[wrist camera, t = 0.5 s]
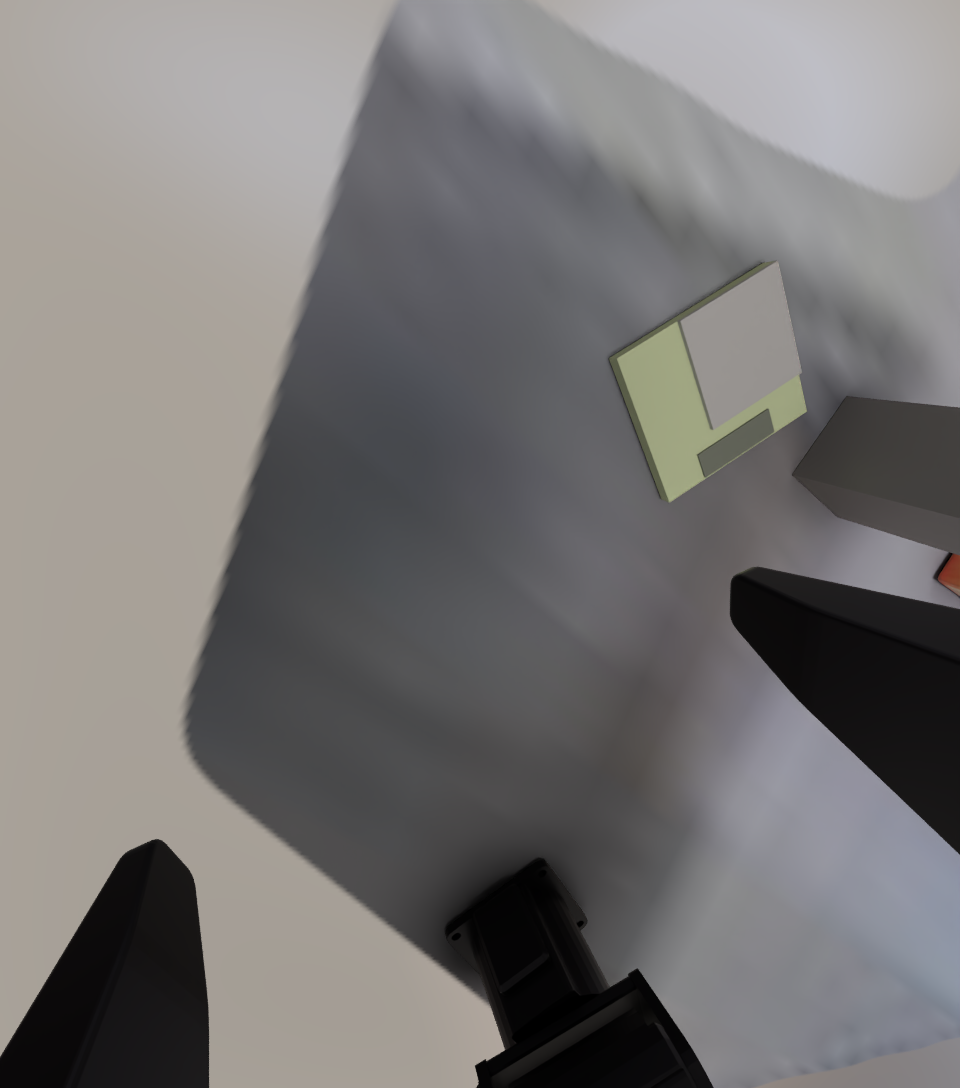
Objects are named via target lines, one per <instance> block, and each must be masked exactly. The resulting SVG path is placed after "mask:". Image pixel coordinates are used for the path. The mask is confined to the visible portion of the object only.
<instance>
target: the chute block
mask: <svg viewBox="0 0 960 1088" xmlns="http://www.w3.org/2000/svg"><path fill="white" fill-rule="evenodd" d="M792 475H793V476H794V477H795V478H796V479H797V480H798V481H799V482H800V483H802V484H803V485H804V486H805V487H806V488H807V489H808V490H809V491H810V492H811V493H812V494H813V495H814V496H816V497H817V498H818V499H819V500H820V501H821V502H822V503H823V504H824V505H825V506H826V507H827V508H828V509H830V510H831V511H832V512H833V513H834V514H835V515H836V516H837V517H839V518H842V519H845V520H848V521H852V522H855V523H858V524H861V525H864V526H868V527H871V528H874V529H877V530H880V531H884V532H887V533H890V534H893V535H896V536H899V537H903V538H906V539H909V540H912V541H915V542H919V543H922V544H925V545H928V546H931V547H934V548H938V549H941V550H944V551H947V552H950V553H954V554H957V555H960V408H958V407H948V406H938V405H928V404H918V403H908V402H898V401H888V400H878V399H868V398H858V397H848V396H847V397H846V398H845V400H844V401H843V403H842V404H841V405H840V407H839V408H838V410H837V411H836V413H835V414H834V415H833V417H832V418H831V420H830V421H829V423H828V424H827V425H826V427H825V428H824V430H823V431H822V433H821V434H820V435H819V437H818V438H817V440H816V441H815V443H814V444H813V446H812V447H811V448H810V450H809V451H808V453H807V454H806V456H805V457H804V458H803V460H802V461H801V463H800V464H799V466H798V467H797V468H796V470H795V471H794V473H793V474H792Z"/></svg>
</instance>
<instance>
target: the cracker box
mask: <svg viewBox="0 0 960 1088" xmlns="http://www.w3.org/2000/svg"><path fill="white" fill-rule="evenodd" d="M938 580H939V582H941V583H942V584H943V585H945V586H946V587H947V588H949V589H950V590H952V591H953V592H955V593H956V594H957V595H959V596H960V555H957V554H954V553H953V555H952V556H951V558H950V559H949V561H948V562H947V564H946V565H945V567H944V568H943V570H942V571H941V573H940V574H939V577H938Z"/></svg>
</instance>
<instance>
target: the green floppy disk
mask: <svg viewBox="0 0 960 1088" xmlns="http://www.w3.org/2000/svg"><path fill="white" fill-rule="evenodd" d="M609 360H610V363H611V365H612V368H613V371H614V373H615V376H616V379H617V381H618V384H619V387H620V389H621V392H622V395H623V398H624V400H625V403H626V406H627V408H628V411H629V414H630V416H631V419H632V422H633V424H634V427H635V430H636V432H637V435H638V438H639V440H640V443H641V446H642V448H643V451H644V454H645V457H646V459H647V462H648V465H649V467H650V470H651V473H652V475H653V478H654V481H655V483H656V486H657V489H658V491H659V494H660V497H661V499H662V500H665V501H667V502H669V503H670V502H671V501H673V500H674V499H676V498H677V497H679V496H680V495H682V494H683V493H685V492H686V491H688V490H689V489H691V488H692V487H694V486H695V485H697V484H698V483H700V482H701V481H703V480H704V479H706V478H707V477H709V476H710V475H712V474H713V473H715V472H716V471H718V470H719V469H721V468H722V467H724V466H725V465H727V464H728V463H730V462H731V461H733V460H734V459H736V458H737V457H739V456H740V455H742V454H743V453H745V452H746V451H748V450H749V449H751V448H752V447H754V446H755V445H757V444H758V443H760V442H761V441H763V440H764V439H766V438H767V437H769V436H770V435H772V434H774V433H775V432H777V431H778V430H780V429H781V428H783V427H784V426H786V425H787V424H789V423H790V422H792V421H793V420H795V419H796V418H798V417H799V416H801V415H802V414H804V413H805V412H807V410H806V405H805V401H804V396H803V392H802V387H801V382H800V378H799V374H800V373H802V370H801V366H800V361H799V357H798V352H797V347H796V343H795V338H794V333H793V329H792V324H791V319H790V315H789V310H788V305H787V301H786V296H785V292H784V287H783V282H782V278H781V273H780V268H779V264H778V261H772V262H766V263H762V264H760V265H759V266H757V267H755V268H754V269H752V270H751V271H749V272H747V273H746V274H744V275H743V276H741V277H739V278H738V279H736V280H734V281H733V282H731V283H730V284H728V285H726V286H725V287H723V288H722V289H720V290H718V291H717V292H715V293H713V294H712V295H710V296H709V297H707V298H705V299H704V300H702V301H700V302H699V303H697V304H696V305H694V306H692V307H691V308H689V309H688V310H686V311H684V312H683V313H681V314H679V315H678V316H676V317H675V318H673V319H671V320H670V321H668V322H667V323H665V324H663V325H662V326H660V327H658V328H657V329H655V330H654V331H652V332H650V333H649V334H647V335H645V336H644V337H642V338H641V339H639V340H637V341H636V342H634V343H633V344H631V345H629V346H628V347H626V348H624V349H623V350H621V351H620V352H618V353H616V354H615V355H613V356H612V357H610V358H609Z"/></svg>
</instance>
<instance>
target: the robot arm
mask: <svg viewBox="0 0 960 1088" xmlns="http://www.w3.org/2000/svg"><path fill="white" fill-rule="evenodd" d="M730 617H731V620H732V623H733V625H734V626H735V628H736V629H737V630H738V632H739V633H740V634H741V635H742V636H743V637H744V639H745V640H746V641H747V642H748V643H749V644H750V646H751V647H752V648H753V649H754V650H755V651H756V652H757V654H758V655H759V656H760V657H761V658H762V659H763V661H764V662H765V663H766V664H767V665H768V666H769V668H770V669H771V670H772V671H773V672H774V673H775V674H776V676H777V677H778V678H779V679H780V680H781V681H782V683H783V684H784V685H785V686H786V687H787V688H788V689H789V691H790V692H791V693H792V694H793V695H794V696H795V697H796V698H797V699H798V700H799V701H800V702H801V703H802V704H803V705H804V706H805V707H806V708H807V709H808V710H809V711H810V712H811V713H812V714H813V715H814V716H815V717H816V718H817V719H818V720H819V721H820V722H821V723H822V724H823V725H824V726H825V727H826V728H828V729H829V730H830V731H831V732H832V733H833V734H834V735H835V736H836V737H837V738H838V739H839V740H840V741H841V742H842V743H843V744H844V745H845V746H846V747H847V748H848V749H850V750H851V751H852V752H853V753H854V754H855V755H856V756H857V757H858V758H859V759H860V760H861V761H862V762H863V763H864V764H865V765H866V766H867V767H868V768H869V769H871V770H872V771H873V772H874V773H875V774H876V775H877V776H878V777H879V778H880V779H881V780H882V781H883V782H884V783H885V784H886V785H887V786H888V787H889V788H890V789H891V790H893V791H894V792H895V793H896V794H897V795H898V796H899V797H900V798H901V799H902V800H903V801H904V802H905V803H906V804H907V805H908V806H909V807H910V808H911V809H912V810H914V811H915V812H916V813H917V814H918V815H919V816H920V817H921V818H922V819H923V820H924V821H925V822H926V823H927V824H928V825H929V826H930V827H931V828H932V829H933V830H935V831H936V832H937V833H938V834H939V835H940V836H941V837H942V838H943V839H944V840H945V841H946V842H947V843H948V844H949V845H950V846H951V847H952V848H953V849H954V850H955V851H957V852H958V853H959V854H960V609H957V608H952V607H947V606H943V605H938V604H933V603H928V602H924V601H919V600H914V599H909V598H905V597H900V596H895V595H890V594H886V593H881V592H876V591H871V590H867V589H862V588H857V587H852V586H848V585H843V584H838V583H833V582H829V581H824V580H819V579H814V578H810V577H805V576H800V575H795V574H791V573H786V572H781V571H776V570H772V569H767V568H762V567H752V568H749V569H747V570H745V571H743V572H741V573H738V574H736V575H735V576H733V578H732V580H731V587H730ZM586 924H587V918H586V916H585V914H584V913H583V911H582V910H581V908H580V907H579V906H578V904H577V903H576V902H575V900H574V899H573V897H572V896H571V895H570V893H569V892H568V891H567V889H566V888H565V886H564V885H563V884H562V882H561V881H560V880H559V878H558V877H557V875H556V874H555V873H554V871H553V870H552V869H551V867H550V866H549V864H548V863H547V862H546V861H544V860H541V861H538V862H536V863H534V864H533V865H532V866H530V867H529V868H528V869H526V870H525V871H523V872H522V873H521V874H519V875H518V876H517V877H515V878H514V879H513V880H511V881H510V882H508V883H507V884H506V885H504V886H503V887H502V888H500V889H499V890H497V891H496V892H495V893H493V894H492V895H491V896H489V897H488V898H486V899H485V900H484V901H482V902H481V903H480V904H478V905H477V906H475V907H474V908H473V909H471V910H470V911H469V912H467V913H466V914H464V915H463V916H462V917H460V918H459V919H458V920H456V921H455V922H453V923H452V924H451V925H449V926H448V927H447V929H446V931H445V935H446V938H447V941H448V943H449V944H450V945H451V946H452V947H453V948H454V949H455V950H456V951H457V952H458V953H459V954H460V955H461V956H462V957H463V958H464V959H465V960H466V961H467V962H468V963H469V964H470V965H471V966H472V967H473V968H474V969H475V970H476V971H477V972H478V973H479V974H480V976H481V979H482V982H483V985H484V988H485V991H486V994H487V997H488V1000H489V1003H490V1006H491V1009H492V1012H493V1015H494V1018H495V1021H496V1024H497V1026H498V1030H499V1032H500V1036H501V1038H502V1042H503V1045H504V1048H505V1051H503V1052H501V1053H500V1054H498V1055H496V1056H495V1057H493V1058H491V1059H490V1060H488V1061H486V1059H485V1060H483V1061H482V1062H480V1063H479V1064H477V1065H475V1068H476V1072H477V1076H478V1080H479V1082H478V1083H479V1084H478V1086H477V1088H713V1086H712V1084H711V1082H710V1080H709V1078H708V1076H707V1074H706V1072H705V1071H704V1069H703V1067H702V1065H701V1063H700V1062H699V1060H698V1058H697V1056H696V1055H695V1053H694V1051H693V1050H692V1048H691V1046H690V1045H689V1043H688V1042H687V1040H686V1039H685V1037H684V1036H683V1034H682V1033H681V1031H680V1030H679V1028H678V1027H677V1025H676V1024H675V1022H674V1021H673V1019H672V1018H671V1017H670V1015H669V1014H668V1012H667V1011H666V1009H665V1008H664V1006H663V1005H662V1003H661V1002H660V1000H659V999H658V997H657V996H656V994H655V993H654V992H653V990H652V989H651V987H650V986H649V984H648V983H647V981H646V980H645V978H644V977H643V975H642V974H641V972H640V971H639V970H638V968H637V969H635V970H634V971H632V972H630V973H629V974H628V977H627V978H625V979H623V980H622V981H620V982H618V983H617V984H615V985H613V986H612V987H609V985H608V983H607V981H606V979H605V977H604V975H603V973H602V971H601V969H600V967H599V966H598V964H597V962H596V960H595V958H594V956H593V954H592V952H591V950H590V948H589V947H588V945H587V943H586V941H585V939H584V937H583V935H582V933H581V931H580V930H581V929H583V928H584V927H585V926H586ZM0 1088H209V1017H208V999H207V987H206V979H205V970H204V960H203V951H202V942H201V933H200V925H199V915H198V906H197V897H196V888H195V883H194V879H193V876H192V874H191V873H190V870H189V869H188V868H187V867H186V866H185V864H184V863H183V862H182V861H181V860H180V859H179V858H178V857H177V856H176V855H175V853H174V852H173V851H172V850H171V849H170V848H169V847H168V846H167V845H166V844H165V843H164V842H163V841H162V840H159V839H155V840H151V841H150V842H147V843H145V844H143V845H140V846H138V847H136V848H134V849H131V850H129V851H128V852H126V853H125V854H124V855H123V856H122V857H121V858H120V860H119V861H118V863H117V864H116V866H115V868H114V870H113V871H112V873H111V874H110V876H109V878H108V879H107V881H106V883H105V884H104V886H103V888H102V889H101V891H100V893H99V894H98V896H97V898H96V899H95V901H94V903H93V904H92V906H91V908H90V909H89V911H88V913H87V914H86V916H85V917H84V919H83V921H82V922H81V924H80V926H79V927H78V929H77V931H76V932H75V934H74V936H73V937H72V939H71V941H70V942H69V944H68V946H67V947H66V949H65V951H64V952H63V954H62V956H61V957H60V959H59V960H58V962H57V964H56V965H55V967H54V969H53V970H52V972H51V974H50V975H49V977H48V979H47V980H46V982H45V984H44V985H43V987H42V989H41V990H40V992H39V994H38V995H37V997H36V999H35V1000H34V1002H33V1003H32V1005H31V1007H30V1009H29V1010H28V1012H27V1014H26V1015H25V1017H24V1018H23V1020H22V1022H21V1024H20V1025H19V1027H18V1028H17V1030H16V1032H15V1033H14V1035H13V1037H12V1038H11V1040H10V1042H9V1043H8V1045H7V1047H6V1048H5V1050H4V1052H3V1053H2V1055H1V1056H0Z"/></svg>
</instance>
